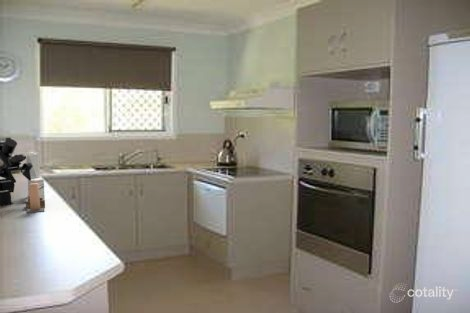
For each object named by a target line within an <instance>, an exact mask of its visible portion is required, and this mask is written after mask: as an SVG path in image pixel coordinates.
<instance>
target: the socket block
mask: <svg viewBox="0 0 470 313" xmlns="http://www.w3.org/2000/svg"><path fill="white" fill-rule="evenodd" d="M45 201H46V199H45V197H44V198H40V208H44V209H45V208H46V202H45ZM27 209H31V207H30V199H29V198H25V210H27Z"/></svg>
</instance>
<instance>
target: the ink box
mask: <svg viewBox="0 0 470 313" xmlns="http://www.w3.org/2000/svg"><path fill="white" fill-rule="evenodd" d="M32 183H38V185H39V197H40V198H45V178H36V179H31V180H30V181H29V180H28V179H27V187H28V188H27V189H28V190H27V196H28V195H29V184H32ZM28 199H30V195H29V197H28Z"/></svg>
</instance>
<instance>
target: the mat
mask: <svg viewBox="0 0 470 313" xmlns="http://www.w3.org/2000/svg"><path fill="white" fill-rule="evenodd" d="M44 212H45V208H40V210H34V211H32V210H31V209H26V214H31V213H44Z"/></svg>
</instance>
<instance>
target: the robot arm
mask: <svg viewBox="0 0 470 313" xmlns="http://www.w3.org/2000/svg"><path fill="white" fill-rule="evenodd" d="M17 146H18V142H17V141H16V140H14V139H12V138H11V137H6V138H5V140H0V160H1V162H2V165H0V206H8V205H12V204H14V202H13V201H12V195H11V194H12V193H14V190H15V183H17V180H16V178H15V177H14V175H13V174H12V172H20V173H21V174H22V175H23V177H25V178H26V179H27V181H28V180H29V181H30V180H31V176H30V170H31V168H32V167H33V165H32V164H31V163H26V162H25V163H23V164H22V162H23V161H26V158H27V155H26V154H25V153H19V154H15V155H12V154H13V153H14V151H15V149H16V148H17ZM20 165H22V166H20Z"/></svg>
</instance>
